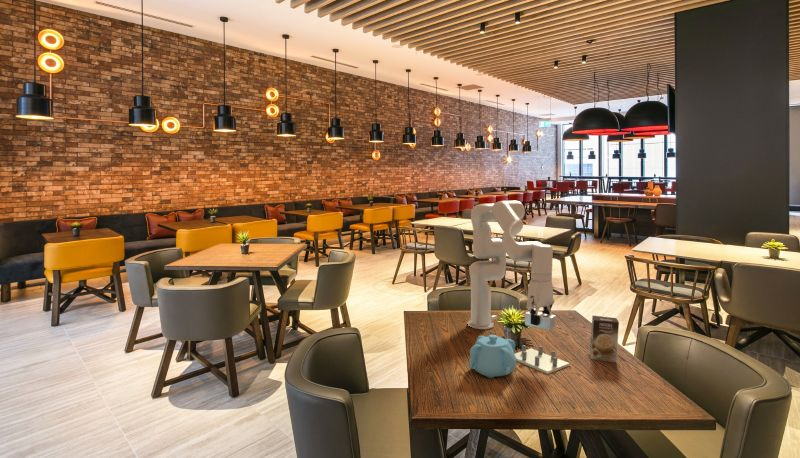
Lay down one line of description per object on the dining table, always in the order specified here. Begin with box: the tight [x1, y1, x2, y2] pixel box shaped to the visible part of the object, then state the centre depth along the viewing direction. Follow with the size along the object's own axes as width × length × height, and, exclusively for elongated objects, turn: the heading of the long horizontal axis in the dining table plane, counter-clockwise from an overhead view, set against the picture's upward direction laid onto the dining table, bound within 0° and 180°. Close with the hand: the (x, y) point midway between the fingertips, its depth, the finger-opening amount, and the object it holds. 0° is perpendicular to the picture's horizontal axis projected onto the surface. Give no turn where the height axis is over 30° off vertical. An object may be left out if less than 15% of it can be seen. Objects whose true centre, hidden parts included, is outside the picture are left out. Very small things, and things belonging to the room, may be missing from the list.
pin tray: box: [514, 344, 570, 375], centre depth 168 cm, size 13×18×4 cm
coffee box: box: [589, 315, 620, 363], centre depth 171 cm, size 9×6×16 cm
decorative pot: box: [468, 334, 517, 379], centre depth 159 cm, size 16×16×14 cm
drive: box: [524, 311, 557, 331], centre depth 166 cm, size 5×10×4 cm, turn 47°
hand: (540, 322), depth 166 cm, fingers closed on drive, 5 cm apart
